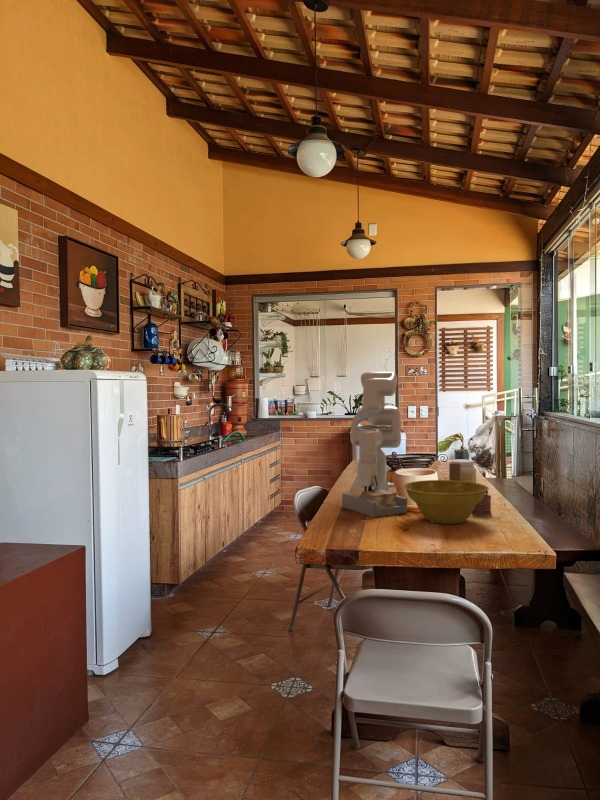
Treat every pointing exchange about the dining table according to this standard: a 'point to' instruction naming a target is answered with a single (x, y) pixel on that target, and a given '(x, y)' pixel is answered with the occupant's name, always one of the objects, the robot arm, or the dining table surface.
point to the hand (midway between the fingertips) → (368, 501)
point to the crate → (381, 498)
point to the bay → (373, 505)
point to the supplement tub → (466, 470)
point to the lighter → (483, 505)
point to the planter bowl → (445, 499)
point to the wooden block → (455, 471)
